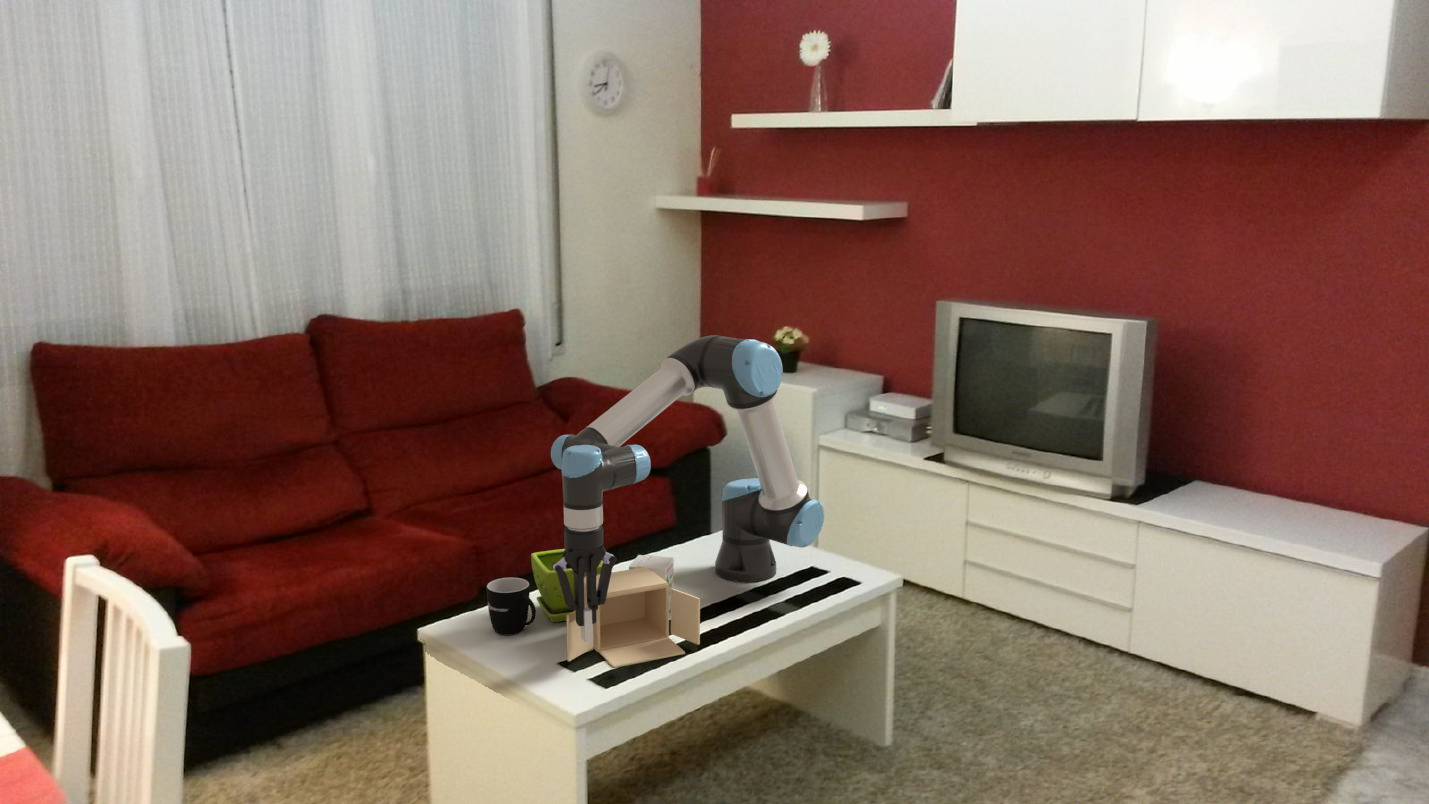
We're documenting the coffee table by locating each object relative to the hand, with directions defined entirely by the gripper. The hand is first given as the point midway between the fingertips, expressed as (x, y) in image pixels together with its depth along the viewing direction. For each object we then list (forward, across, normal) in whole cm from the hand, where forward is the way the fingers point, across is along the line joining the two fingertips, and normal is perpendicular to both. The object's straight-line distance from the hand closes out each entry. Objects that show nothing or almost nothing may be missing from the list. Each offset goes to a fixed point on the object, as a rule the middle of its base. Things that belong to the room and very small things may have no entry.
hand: (586, 639), depth 223 cm
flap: (+4, 0, -3) cm, 5 cm away
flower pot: (+6, -6, -28) cm, 30 cm away
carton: (+6, -14, -7) cm, 17 cm away
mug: (+6, +8, -23) cm, 25 cm away
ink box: (+6, -23, -21) cm, 32 cm away
